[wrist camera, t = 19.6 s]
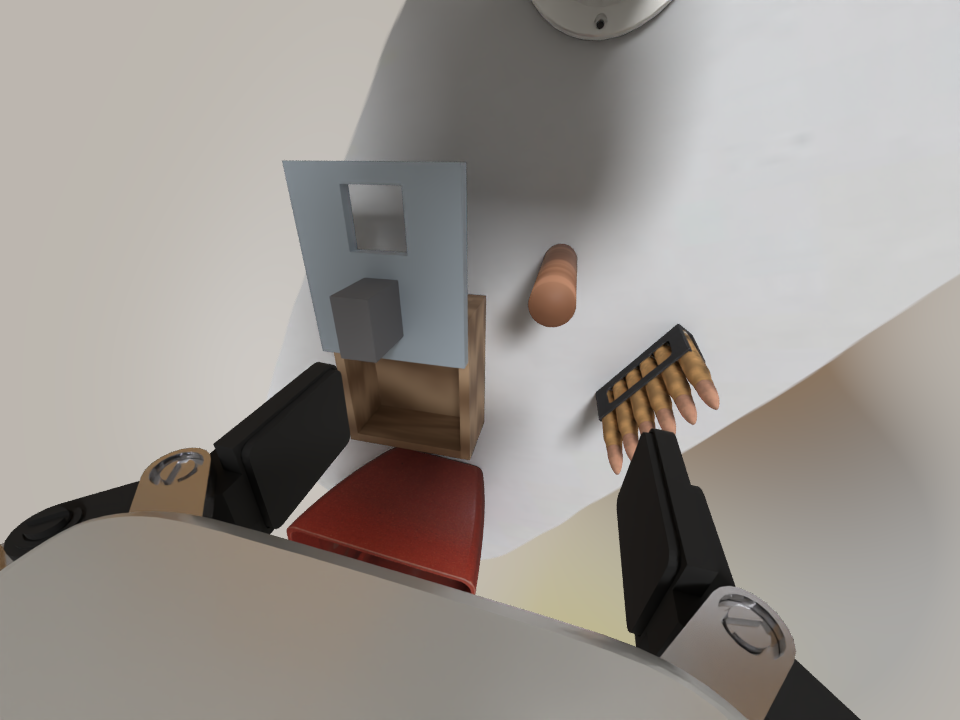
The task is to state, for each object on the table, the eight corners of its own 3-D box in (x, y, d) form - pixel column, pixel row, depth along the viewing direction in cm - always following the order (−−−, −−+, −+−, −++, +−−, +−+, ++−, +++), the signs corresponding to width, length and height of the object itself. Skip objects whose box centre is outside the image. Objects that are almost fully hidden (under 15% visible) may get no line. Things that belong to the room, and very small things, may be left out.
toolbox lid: (292, 160, 29) (227, 160, 24) (466, 162, 26) (436, 162, 21) (330, 345, 37) (287, 377, 31) (468, 362, 34) (446, 400, 28)
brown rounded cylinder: (545, 243, 34) (529, 280, 23) (578, 244, 33) (578, 283, 23) (542, 275, 35) (526, 325, 25) (574, 277, 35) (573, 329, 24)
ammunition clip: (608, 403, 40) (616, 486, 30) (595, 392, 40) (599, 473, 30) (692, 335, 35) (739, 408, 24) (678, 323, 35) (718, 391, 24)
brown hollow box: (360, 285, 41) (324, 305, 35) (486, 295, 38) (468, 320, 32) (378, 405, 48) (351, 439, 42) (484, 422, 45) (469, 460, 40)
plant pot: (376, 515, 59) (310, 629, 45) (369, 420, 50) (282, 526, 35) (493, 547, 56) (463, 682, 42) (509, 453, 47) (476, 583, 32)
